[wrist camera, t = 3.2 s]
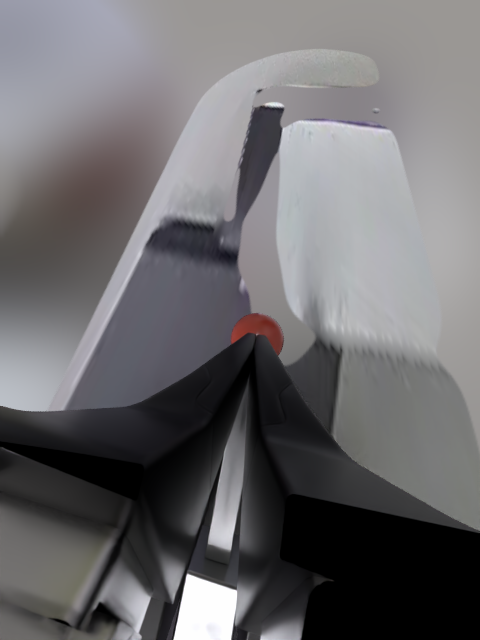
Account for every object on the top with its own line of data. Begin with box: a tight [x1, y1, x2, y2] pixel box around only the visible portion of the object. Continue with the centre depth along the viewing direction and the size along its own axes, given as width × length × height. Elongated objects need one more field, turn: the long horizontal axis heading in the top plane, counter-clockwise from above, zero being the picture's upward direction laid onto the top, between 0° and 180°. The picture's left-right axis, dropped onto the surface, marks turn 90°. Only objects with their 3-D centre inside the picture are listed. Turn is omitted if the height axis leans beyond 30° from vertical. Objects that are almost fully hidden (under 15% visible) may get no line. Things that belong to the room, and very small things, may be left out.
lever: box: [172, 313, 284, 640], centre depth 10 cm, size 14×3×3 cm, turn 168°
